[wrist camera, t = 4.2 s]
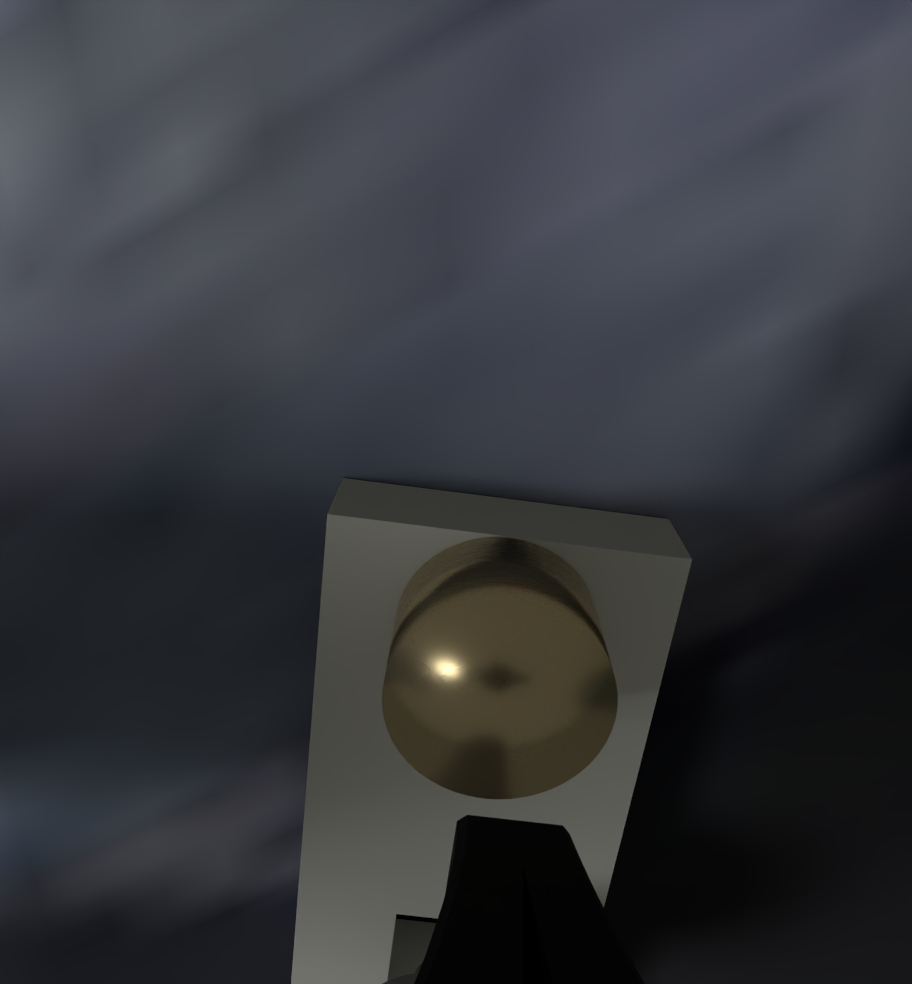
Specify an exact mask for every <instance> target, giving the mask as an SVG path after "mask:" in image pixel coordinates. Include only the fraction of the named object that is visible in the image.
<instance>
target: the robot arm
mask: <svg viewBox="0 0 912 984" xmlns="http://www.w3.org/2000/svg"><path fill="white" fill-rule="evenodd" d="M414 984H644V982H643V981H642V979H641V977H640V975H639V973H638V972H637V970H636V968H635V966H634V964H633V963H632V961H631V959H630V957H629V955H628V954H627V952H626V950H625V948H624V946H623V944H622V943H621V941H620V939H619V937H618V935H617V933H616V931H615V929H614V927H613V925H612V923H611V921H610V919H609V917H608V915H607V913H606V911H605V909H604V907H603V905H602V903H601V901H600V899H599V897H598V895H597V893H596V891H595V889H594V887H593V885H592V883H591V881H590V879H589V876H588V874H587V872H586V870H585V868H584V866H583V863H582V861H581V859H580V857H579V854H578V852H577V850H576V847H575V845H574V843H573V840H572V838H571V835H570V834H569V832H568V831H567V830H566V829H565V827H564V826H563V825H555V824H546V823H537V822H528V821H519V820H510V819H501V818H492V817H483V816H474V815H466V816H464V817H463V818H461V819H459V820H458V821H457V823H456V830H455V836H454V842H453V848H452V855H451V861H450V867H449V873H448V879H447V886H446V892H445V897H444V901H443V904H442V907H441V910H440V913H439V916H438V919H437V922H436V925H435V928H434V931H433V934H432V937H431V940H430V943H429V946H428V949H427V952H426V955H425V957H424V960H423V963H422V965H421V968H420V970H419V973H418V975H417V978H416V980H415V982H414Z"/></svg>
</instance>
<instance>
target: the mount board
mask: <svg viewBox="0 0 912 984" xmlns="http://www.w3.org/2000/svg"><path fill="white" fill-rule="evenodd" d="M491 537H503V538H513V539H519V540H524V541H527V542H531V543H534V544H537V545H539V546H541V547H544V548H546V549H548V550H550V551H552V552H553V553H555V554H556V555H558V556H560V557H561V558H562V559H563V560H565V561H566V562H567V563H568V564H570V565H571V566H572V567H573V569H574V570H575V571H576V572H577V573H578V574H579V575H580V577H581V578H582V580H583V581H584V582H585V584H586V586H587V588H588V590H589V592H590V594H591V596H592V599H593V602H594V605H595V608H596V612H597V615H598V619H599V622H600V626H601V630H602V633H603V637H604V640H605V644H606V647H607V651H608V654H609V658H610V661H611V665H612V669H613V672H614V676H615V679H616V685H617V691H618V708H617V714H616V720H615V723H614V726H613V729H612V732H611V734H610V736H609V738H608V740H607V742H606V744H605V745H604V747H603V748H602V750H601V751H600V753H599V754H598V755H597V757H596V758H595V759H594V760H593V761H592V762H591V763H590V764H589V765H588V766H587V767H586V768H585V769H584V770H582V771H581V772H580V773H579V774H578V775H576V776H575V777H573V778H572V779H570V780H569V781H567V782H565V783H563V784H561V785H559V786H557V787H555V788H553V789H550V790H548V791H545V792H543V793H539V794H535V795H532V796H528V797H522V798H515V799H483V798H477V797H471V796H467V795H463V794H460V793H456V792H453V791H451V790H448V789H446V788H443V787H441V786H439V785H438V784H436V783H434V782H432V781H430V780H429V779H427V778H426V777H424V776H423V775H422V774H420V773H419V772H417V771H416V770H415V769H414V768H413V767H412V766H411V765H410V764H409V763H408V762H407V761H406V760H405V759H404V757H403V756H402V755H401V754H400V753H399V751H398V750H397V748H396V746H395V745H394V743H393V742H392V740H391V737H390V735H389V733H388V731H387V728H386V724H385V721H384V717H383V709H382V690H383V684H384V679H385V673H386V667H387V662H388V656H389V651H390V645H391V639H392V634H393V628H394V622H395V617H396V612H397V606H398V603H399V600H400V598H401V595H402V593H403V591H404V589H405V587H406V585H407V583H408V582H409V581H410V579H411V578H412V576H413V575H414V574H415V573H416V572H417V571H418V570H419V569H420V567H421V566H422V565H423V564H425V563H426V562H427V561H428V560H430V559H431V558H432V557H433V556H435V555H437V554H438V553H440V552H442V551H443V550H445V549H447V548H450V547H452V546H454V545H456V544H459V543H463V542H466V541H469V540H474V539H480V538H491ZM691 562H692V558H691V557H690V555H689V553H688V551H687V550H686V548H685V546H684V544H683V543H682V541H681V539H680V537H679V536H678V534H677V532H676V530H675V529H674V527H673V525H672V523H671V522H670V520H669V519H665V518H657V517H649V516H641V515H633V514H625V513H617V512H609V511H601V510H593V509H585V508H577V507H569V506H561V505H553V504H545V503H537V502H530V501H522V500H514V499H506V498H498V497H490V496H482V495H474V494H466V493H458V492H450V491H442V490H434V489H426V488H418V487H410V486H402V485H394V484H387V483H379V482H371V481H363V480H355V479H347V478H343V479H342V481H341V484H340V486H339V488H338V491H337V493H336V495H335V498H334V500H333V502H332V504H331V507H330V509H329V511H328V514H327V525H326V538H325V551H324V564H323V577H322V590H321V603H320V616H319V629H318V642H317V655H316V668H315V680H314V694H313V706H312V719H311V732H310V745H309V758H308V771H307V784H306V797H305V810H304V823H303V836H302V849H301V862H300V875H299V888H298V901H297V914H296V927H295V940H294V953H293V966H292V979H291V984H382V983H384V982H386V981H388V980H391V979H394V978H397V977H400V976H404V975H408V974H413V973H415V971H416V969H417V967H418V966H419V965H420V964H421V963H422V962H423V960H424V957H425V955H426V952H427V949H428V946H429V943H430V940H431V937H432V934H433V931H434V928H435V925H436V923H430V922H421V921H412V920H403V919H396V914H401V915H410V916H419V917H428V918H437V919H438V916H439V913H440V910H441V907H442V904H443V901H444V897H445V892H446V886H447V879H448V873H449V867H450V861H451V855H452V848H453V842H454V836H455V830H456V823H457V821H458V820H459V819H461V818H463V817H464V816H466V815H474V816H483V817H492V818H501V819H510V820H519V821H528V822H537V823H546V824H555V825H563V826H564V827H565V829H566V830H567V831H568V832H569V834H570V835H571V838H572V840H573V843H574V845H575V847H576V850H577V852H578V854H579V857H580V859H581V861H582V863H583V866H584V868H585V870H586V872H587V874H588V876H589V879H590V881H591V883H592V885H593V887H594V889H595V891H596V893H597V895H598V897H599V899H600V901H601V903H602V905H603V907H604V905H605V901H606V897H607V893H608V889H609V885H610V881H611V877H612V874H613V870H614V866H615V862H616V858H617V854H618V850H619V846H620V842H621V838H622V834H623V830H624V826H625V822H626V818H627V814H628V810H629V806H630V803H631V799H632V795H633V791H634V787H635V783H636V779H637V775H638V771H639V767H640V763H641V759H642V755H643V751H644V747H645V743H646V739H647V736H648V732H649V728H650V724H651V720H652V716H653V712H654V708H655V704H656V700H657V696H658V692H659V688H660V684H661V680H662V676H663V672H664V669H665V665H666V661H667V657H668V653H669V649H670V645H671V641H672V637H673V633H674V629H675V625H676V621H677V617H678V613H679V609H680V605H681V602H682V598H683V594H684V590H685V586H686V582H687V578H688V574H689V570H690V566H691Z"/></svg>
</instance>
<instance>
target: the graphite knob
mask: <svg viewBox="0 0 912 984" xmlns="http://www.w3.org/2000/svg"><path fill="white" fill-rule="evenodd" d="M422 963H423V962H422ZM422 963H421V964H420V965H419V966H418V967H417V969H416V971H415V973H413V974H408V975H404V976H400V977H397V978H394V979H391V980H388V981H386V982H384V983H382V984H414V982H415V980H416V978H417V975H418V973H419V970H420V968H421V965H422Z"/></svg>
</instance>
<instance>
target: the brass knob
mask: <svg viewBox="0 0 912 984" xmlns="http://www.w3.org/2000/svg"><path fill="white" fill-rule="evenodd" d="M617 708H618V691H617V685H616V679H615V676H614V672H613V669H612V665H611V661H610V658H609V654H608V651H607V647H606V644H605V640H604V637H603V633H602V630H601V626H600V622H599V619H598V615H597V612H596V608H595V605H594V602H593V599H592V596H591V594H590V592H589V590H588V588H587V586H586V584H585V582H584V581H583V580H582V578H581V577H580V575H579V574H578V573H577V572H576V571H575V570H574V569H573V567H572V566H571V565H570V564H568V563H567V562H566V561H565V560H563V559H562V558H561V557H560V556H558V555H556V554H555V553H553V552H552V551H550V550H548V549H546V548H544V547H541V546H539V545H537V544H534V543H531V542H527V541H524V540H519V539H513V538H503V537H491V538H480V539H474V540H469V541H466V542H463V543H459V544H456V545H454V546H452V547H450V548H447V549H445V550H443V551H442V552H440V553H438V554H437V555H435V556H433V557H432V558H431V559H430V560H428V561H427V562H426V563H425V564H423V565H422V566H421V567H420V569H419V570H418V571H417V572H416V573H415V574H414V575H413V576H412V578H411V579H410V581H409V582H408V583H407V585H406V587H405V589H404V591H403V593H402V595H401V598H400V600H399V603H398V606H397V612H396V617H395V622H394V628H393V634H392V639H391V645H390V651H389V656H388V662H387V667H386V673H385V679H384V684H383V690H382V709H383V717H384V721H385V724H386V728H387V731H388V733H389V735H390V737H391V740H392V742H393V743H394V745H395V746H396V748H397V750H398V751H399V753H400V754H401V755H402V756H403V757H404V759H405V760H406V761H407V762H408V763H409V764H410V765H411V766H412V767H413V768H414V769H415V770H416V771H417V772H419V773H420V774H422V775H423V776H424V777H426V778H427V779H429V780H430V781H432V782H434V783H436V784H438V785H439V786H441V787H443V788H446V789H448V790H451V791H453V792H456V793H460V794H463V795H467V796H471V797H477V798H483V799H515V798H522V797H528V796H532V795H535V794H539V793H543V792H545V791H548V790H550V789H553V788H555V787H557V786H559V785H561V784H563V783H565V782H567V781H569V780H570V779H572V778H573V777H575V776H576V775H578V774H579V773H580V772H581V771H582V770H584V769H585V768H586V767H587V766H588V765H589V764H590V763H591V762H592V761H593V760H594V759H595V758H596V757H597V755H598V754H599V753H600V751H601V750H602V748H603V747H604V745H605V744H606V742H607V740H608V738H609V736H610V734H611V732H612V729H613V726H614V723H615V720H616V714H617Z"/></svg>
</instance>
